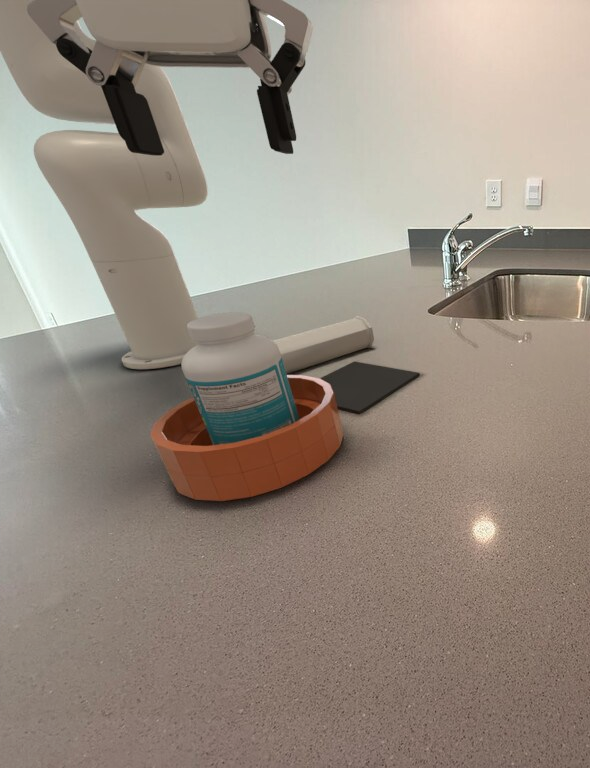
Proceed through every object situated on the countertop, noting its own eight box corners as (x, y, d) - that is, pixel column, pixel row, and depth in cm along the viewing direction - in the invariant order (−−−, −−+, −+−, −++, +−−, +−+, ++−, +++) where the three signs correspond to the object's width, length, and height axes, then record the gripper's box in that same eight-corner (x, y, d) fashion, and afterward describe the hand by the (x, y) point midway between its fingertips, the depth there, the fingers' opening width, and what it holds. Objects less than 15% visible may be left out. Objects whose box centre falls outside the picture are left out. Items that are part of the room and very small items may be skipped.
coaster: (287, 397, 52) (286, 394, 52) (354, 363, 62) (354, 361, 62) (360, 414, 48) (359, 411, 48) (419, 375, 58) (419, 372, 57)
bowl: (139, 480, 37) (113, 429, 35) (278, 408, 49) (265, 367, 47) (246, 525, 32) (224, 468, 30) (373, 432, 44) (364, 387, 42)
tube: (193, 379, 48) (374, 325, 66) (175, 356, 50) (355, 310, 68) (204, 412, 51) (374, 352, 69) (186, 389, 53) (355, 337, 71)
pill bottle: (245, 432, 44) (201, 309, 38) (316, 428, 44) (283, 305, 38) (203, 476, 37) (142, 334, 31) (287, 471, 37) (242, 330, 32)
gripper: (295, -123, 29) (344, 155, 36) (14, -142, 26) (127, 158, 34) (249, -220, 22) (321, 146, 29) (-133, -257, 20) (48, 149, 27)
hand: (217, 153), depth 31 cm, fingers open, 9 cm apart
